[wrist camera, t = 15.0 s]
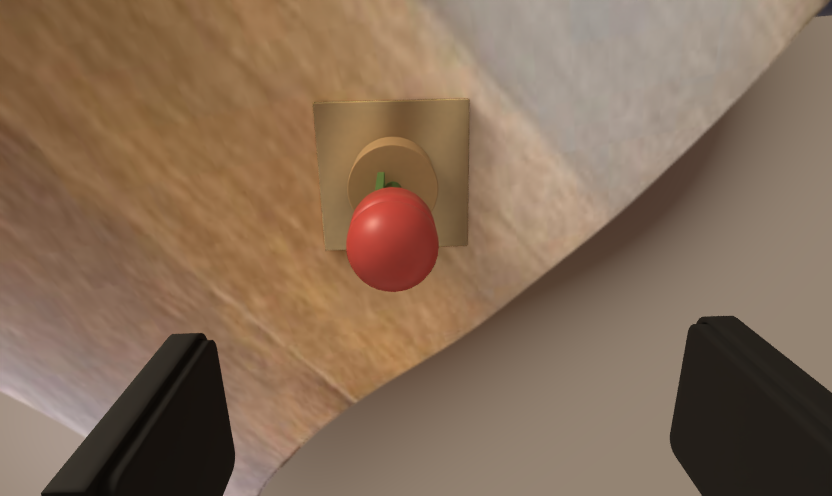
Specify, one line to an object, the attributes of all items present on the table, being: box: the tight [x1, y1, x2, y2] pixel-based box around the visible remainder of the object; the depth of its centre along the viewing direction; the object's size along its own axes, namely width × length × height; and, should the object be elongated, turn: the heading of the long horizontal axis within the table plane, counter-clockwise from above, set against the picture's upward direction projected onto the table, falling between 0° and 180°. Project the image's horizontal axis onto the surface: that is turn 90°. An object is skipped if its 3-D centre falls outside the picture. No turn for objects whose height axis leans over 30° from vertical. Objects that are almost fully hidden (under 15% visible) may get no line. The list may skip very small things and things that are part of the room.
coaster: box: [313, 98, 469, 251], centre depth 32 cm, size 9×9×1 cm
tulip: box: [346, 137, 439, 292], centre depth 25 cm, size 5×5×14 cm
